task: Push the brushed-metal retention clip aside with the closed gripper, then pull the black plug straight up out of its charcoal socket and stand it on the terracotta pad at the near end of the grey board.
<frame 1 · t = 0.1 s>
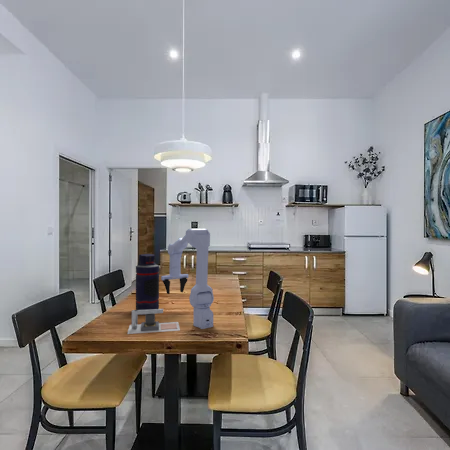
hand: (175, 292, 166), 10 cm above the table, tool pointing down, fingers open, 7 cm apart
plug: (150, 327, 138), point 1 cm above the table, touching dock board
dock board: (150, 329, 138), on the table
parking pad: (168, 326, 139), resting on dock board
retention clip: (147, 318, 137), point 5 cm above the table, hinge at 0.0°
red-striped navy canister: (146, 311, 168), on the table
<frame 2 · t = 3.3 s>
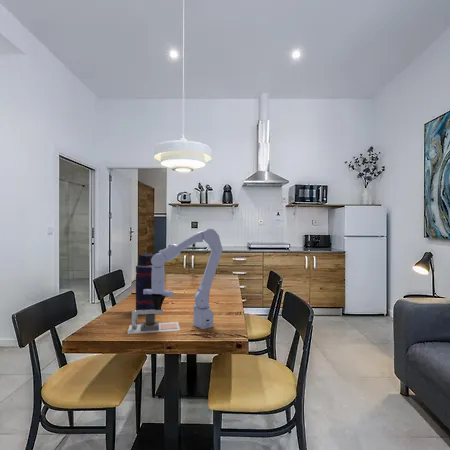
hand: (158, 311, 140), 7 cm above the table, tool pointing down, fingers closed
retention clip: (147, 318, 137), point 5 cm above the table, hinge at -2.2°, touching gripper
everything else where it was.
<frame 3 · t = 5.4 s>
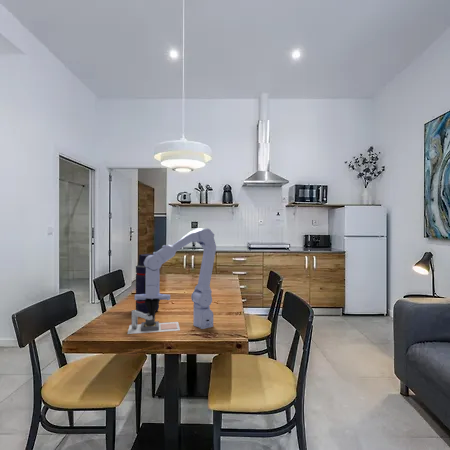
hand: (152, 317, 132), 7 cm above the table, tool pointing down, fingers closed
retention clip: (141, 322, 133), point 5 cm above the table, hinge at -55.0°, touching gripper
everything else where it was.
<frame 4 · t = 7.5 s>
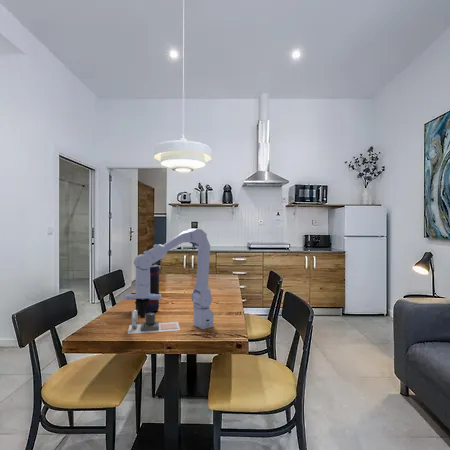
hand: (143, 317, 129), 8 cm above the table, tool pointing down, fingers closed
retention clip: (134, 323, 131), point 5 cm above the table, hinge at -85.7°
everything else where it was.
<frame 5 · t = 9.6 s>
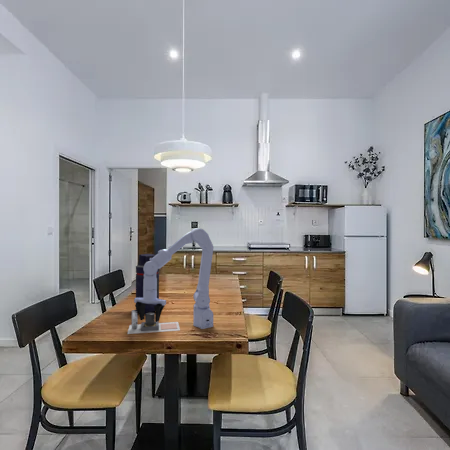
hand: (149, 320, 138), 4 cm above the table, tool pointing down, fingers open, 7 cm apart
retention clip: (134, 323, 131), point 5 cm above the table, hinge at -85.7°, touching gripper
everything else where it was.
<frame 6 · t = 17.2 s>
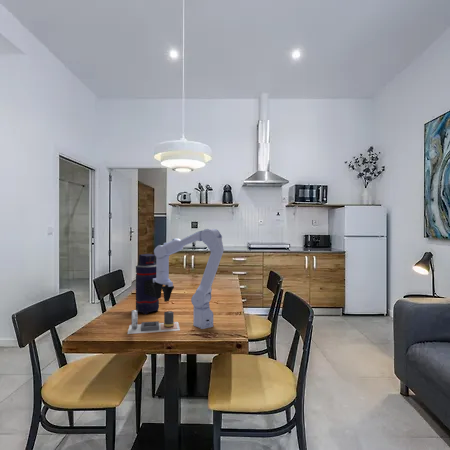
hand: (162, 299, 149), 10 cm above the table, tool pointing down, fingers open, 7 cm apart
plug: (168, 326, 139), point 1 cm above the table, touching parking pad
retention clip: (134, 323, 131), point 5 cm above the table, hinge at -85.9°
everything else where it was.
at the end: retention clip at -86° (first picture: +0°); plug 0.1 cm off-centre on the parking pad, point 0.2 cm above the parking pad's base; plug tilted 0° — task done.
